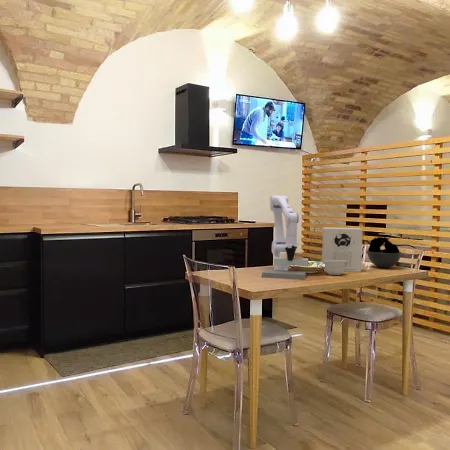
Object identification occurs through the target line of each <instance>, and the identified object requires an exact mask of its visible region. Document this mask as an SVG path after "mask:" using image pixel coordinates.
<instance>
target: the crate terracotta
mask: <svg viewBox="0 0 450 450" xmlns="http://www.w3.org/2000/svg"><path fill="white" fill-rule="evenodd" d="M303 257H304V253H303V252H295V255H294V258H295V259H303Z"/></svg>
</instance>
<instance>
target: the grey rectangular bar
mask: <svg viewBox="0 0 450 450" xmlns="http://www.w3.org/2000/svg"><path fill="white" fill-rule="evenodd" d="M274 265H287V266H297V267H298V266H300V267H308V266H309V258H307V257H306V258H303V259H295V257H294V258H293V260H292V261H288V258H287V259H280V258H278V257H275V256H274V258H273V266H274Z"/></svg>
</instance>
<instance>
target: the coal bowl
mask: <svg viewBox="0 0 450 450" xmlns="http://www.w3.org/2000/svg"><path fill="white" fill-rule="evenodd" d="M390 239H391V238H390V237H386V236H384V237H383V236H378V237H374V238H373V239H371V240H370V244H369V246H368V249H367V251H366V254H367V256H368V259H369V261H370V262H371V263H372V264H373V265H374V266H376V267H379V268H382V269H385V268H387V269H389V268H391V267H393V266H395V265H397V264H398V262H399V260H400V259H401V257H402V251H400V249H399V248H398V246H397V244H396V243H395V244H394V243H392V241H390ZM382 246H384V249H381V248H382Z"/></svg>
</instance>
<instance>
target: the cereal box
mask: <svg viewBox="0 0 450 450" xmlns="http://www.w3.org/2000/svg"><path fill="white" fill-rule="evenodd" d="M321 247H322V252H321V264H322V263H323V264H325V261H326V260H343V261H344V260H345V261H347V262H348V266H347V267H346V268H345V269H344V272H348V273H362V256H363V255H362V254H363V252H362V251H363V228H361V227H326V226H325V227H322V246H321ZM345 265H346V263H345V262H344V266H345ZM323 272H326V271H325V269H324V271H323ZM344 272H343V273H344Z"/></svg>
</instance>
